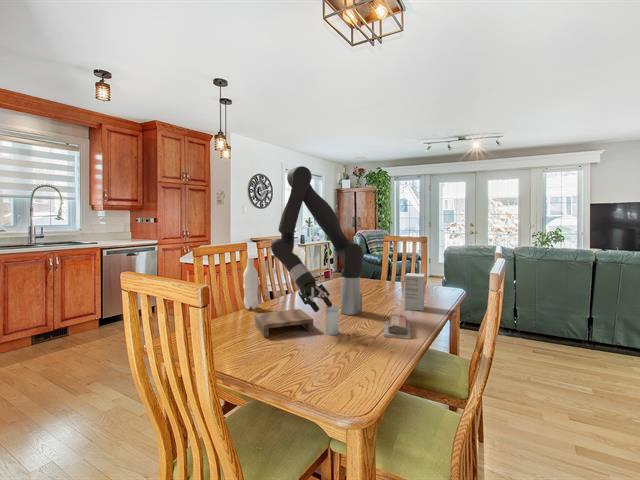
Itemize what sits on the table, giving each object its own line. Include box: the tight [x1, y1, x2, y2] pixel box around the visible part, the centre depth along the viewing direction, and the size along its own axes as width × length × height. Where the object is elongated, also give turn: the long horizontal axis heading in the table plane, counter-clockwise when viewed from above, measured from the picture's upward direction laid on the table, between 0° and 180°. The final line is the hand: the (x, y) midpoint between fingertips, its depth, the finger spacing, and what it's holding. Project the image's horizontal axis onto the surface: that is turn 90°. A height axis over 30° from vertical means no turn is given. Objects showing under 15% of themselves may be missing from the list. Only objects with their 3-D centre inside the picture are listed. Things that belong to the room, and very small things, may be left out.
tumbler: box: [325, 305, 340, 336], centre depth 138 cm, size 5×5×10 cm
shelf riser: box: [254, 308, 314, 339], centre depth 144 cm, size 20×16×5 cm
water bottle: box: [242, 257, 259, 310], centre depth 174 cm, size 7×7×25 cm
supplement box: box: [403, 272, 426, 312], centre depth 174 cm, size 10×9×17 cm
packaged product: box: [383, 314, 411, 340], centre depth 141 cm, size 18×5×10 cm
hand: (324, 308), depth 140 cm, fingers open, 8 cm apart
